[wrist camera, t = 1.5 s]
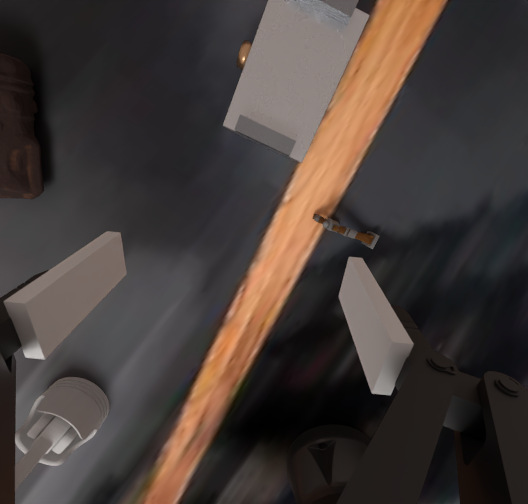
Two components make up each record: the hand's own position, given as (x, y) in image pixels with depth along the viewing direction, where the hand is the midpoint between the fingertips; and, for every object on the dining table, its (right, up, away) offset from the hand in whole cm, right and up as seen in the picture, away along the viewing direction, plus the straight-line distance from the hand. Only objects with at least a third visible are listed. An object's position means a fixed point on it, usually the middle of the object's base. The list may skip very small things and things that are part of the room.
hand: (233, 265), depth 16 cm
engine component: (-29, -24, +29) cm, 47 cm away
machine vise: (+5, +21, +14) cm, 25 cm away
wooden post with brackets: (+12, +4, +19) cm, 23 cm away
